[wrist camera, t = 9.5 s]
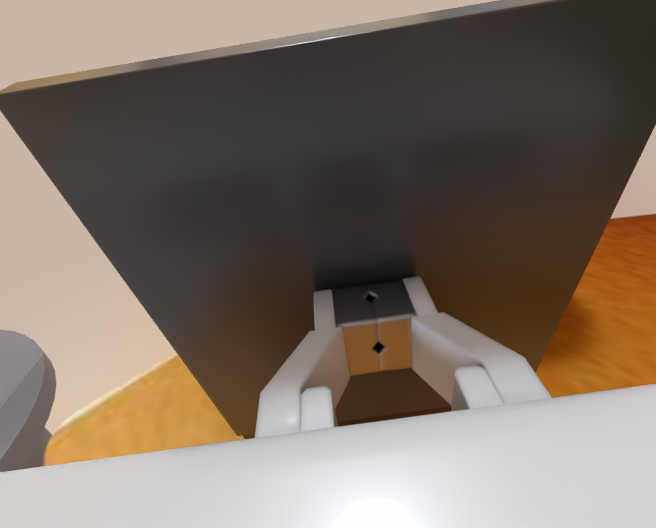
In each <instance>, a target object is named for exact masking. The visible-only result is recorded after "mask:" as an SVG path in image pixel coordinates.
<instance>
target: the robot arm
mask: <svg viewBox="0 0 656 528" xmlns="http://www.w3.org/2000/svg"><path fill="white" fill-rule="evenodd" d="M313 295H314V322H315V330H314V331H309V333H308V334H307V335H306V336H305V338H304V339H303V340H302V341H301V343H300V344H299V345H298V346H297V348H296V349H295V350H294V352H293V353H292V354H291V355H290V357H289V358H288V359H287V360H286V362H285V363H284V364H283V365H282V367H281V368H280V369H279V370H278V372H277V373H276V374H275V375H274V377H273V378H272V379H271V380H270V382H269V383H268V384H267V385H266V387H265V388H264V389H263V390H262V392H261V393H260V399H259V407H258V415H257V423H256V431H255V438H251V439H244V440H236V441H229V442H221V443H214V444H207V445H199V446H192V447H185V448H177V449H170V450H162V451H155V452H148V453H140V454H133V455H125V456H118V457H111V458H103V459H96V460H88V461H81V462H74V463H66V464H59V465H51V466H44V467H37V468H29V469H22V470H15V471H7V472H0V528H656V384H651V385H643V386H636V387H628V388H621V389H614V390H606V391H599V392H592V393H584V394H577V395H569V396H562V397H555V398H552V397H551V396H550V394H549V393H548V391H547V390H546V388H545V387H544V385H543V384H542V382H541V381H540V380H539V378H538V377H537V375H536V374H535V372H534V371H533V369H532V368H531V366H530V365H529V363H528V362H527V360H526V359H525V357H523V356H521V355H520V354H518V353H516V352H514V351H512V350H511V349H509V348H507V347H505V346H503V345H502V344H500V343H498V342H496V341H495V340H493V339H491V338H489V337H487V336H486V335H484V334H482V333H480V332H479V331H477V330H475V329H473V328H471V327H470V326H468V325H466V324H464V323H462V322H461V321H459V320H457V319H455V318H454V317H452V316H450V315H448V314H446V313H445V312H440V313H438V311H437V309H436V307H435V305H434V303H433V300H432V298H431V296H430V294H429V292H428V290H427V288H426V286H425V284H424V282H423V280H422V278H421V277H420V276H415V277H409V278H403V279H401V280H395V281H388V282H381V283H375V284H368V285H367V284H366V285H358V286H350V287H342V288H334V289H327V290H320V291H314V294H313ZM405 368H412V370H414V371H415V372H416V373H417V374H418V375H419V376H420V377H421V378H422V379H423V380H424V381H425V382H427V383H428V384H429V385H430V386H431V387H432V388H433V389H434V390H435V391H436V392H437V393H438V394H440V395H441V396H442V397H443V398H444V399H445V400H446V401H447V402H448V403H449V404H450V405H451V406H452V409H451V412H443V413H436V414H428V415H421V416H414V417H406V418H399V419H391V420H384V421H377V422H369V423H362V424H355V425H347V426H340V427H338V422H337V417H336V412H335V408H336V406H337V404H338V402H339V400H340V398H341V396H342V394H343V392H344V390H345V388H346V386H347V384H348V382H349V380H350V376H355V375H361V374H367V373H373V372H379V371H380V370H381V371H387V370H396V369H405Z"/></svg>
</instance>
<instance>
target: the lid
mask: <svg viewBox="0 0 656 528" xmlns="http://www.w3.org/2000/svg"><path fill="white" fill-rule="evenodd" d="M0 111H1V112H2V113H3V115H4V116H5V118H6V119H7V120H8V122H9V123H10V124H11V126H12V127H13V129H14V130H15V131H16V133H17V134H18V135H19V137H20V138H21V140H22V141H23V142H24V144H25V145H26V146H27V148H28V149H29V151H30V152H31V153H32V155H33V156H34V157H35V159H36V160H37V161H38V163H39V164H40V166H41V167H42V168H43V170H44V171H45V173H46V174H47V175H48V177H49V178H50V179H51V181H52V182H53V183H54V185H55V186H56V188H57V189H58V190H59V192H60V193H61V195H62V196H63V197H64V199H65V200H66V201H67V203H68V204H69V205H70V207H71V208H72V210H73V211H74V212H75V214H76V215H77V216H78V218H79V219H80V221H81V222H82V223H83V225H84V226H85V227H86V229H87V230H88V232H89V233H90V234H91V236H92V237H93V238H94V240H95V241H96V243H97V244H98V245H99V247H100V248H101V249H102V251H103V252H104V254H105V255H106V256H107V258H108V259H109V260H110V262H111V263H112V265H113V266H114V267H115V268H116V270H117V271H118V273H119V274H120V275H121V277H122V278H123V280H124V281H125V282H126V284H127V285H128V286H129V288H130V289H131V291H132V292H133V293H134V295H135V296H136V297H137V298H138V300H139V302H140V303H141V304H142V305H143V307H144V308H145V310H146V311H147V313H148V314H149V315H150V317H151V318H152V319H153V321H154V322H155V323H156V325H157V326H158V328H159V329H160V330H161V332H162V333H163V334H164V336H165V337H166V339H167V340H168V341H169V343H170V344H171V346H172V347H173V348H174V350H175V351H176V352H177V354H178V355H179V357H180V358H181V359H182V361H183V362H184V363H185V365H186V366H187V367H188V369H189V370H190V372H191V373H192V374H193V376H194V377H195V378H196V380H197V381H198V383H199V384H200V385H201V387H202V388H203V389H204V391H205V392H206V394H207V395H208V396H209V398H210V399H211V400H212V402H213V403H214V405H215V406H216V407H217V409H218V410H219V411H220V413H221V414H222V416H223V417H224V418H225V420H226V421H227V422H228V424H229V425H230V427H231V428H232V429H233V431H234V432H235V433H236V435H237V436H240V435H248V434H255V431H256V423H257V415H258V407H259V399H260V393H261V392H262V390H263V389H264V388H265V387H266V385H267V384H268V383H269V382H270V380H271V379H272V378H273V377H274V375H275V374H276V373H277V372H278V370H279V369H280V368H281V367H282V365H283V364H284V363H285V362H286V360H287V359H288V358H289V357H290V355H291V354H292V353H293V352H294V350H295V349H296V348H297V346H298V345H299V344H300V343H301V341H302V340H303V339H304V338H305V336H306V335H307V334H308V333H309V331H314V330H315V322H314V295H313V294H314V291H320V290H327V289H334V288H342V287H350V286H358V285H366V284H367V285H368V284H375V283H381V282H388V281H395V280H401V279H403V278H409V277H415V276H420V277H421V278H422V280H423V282H424V284H425V286H426V288H427V290H428V292H429V294H430V296H431V298H432V300H433V303H434V305H435V307H436V309H437V311H438V313H440V312H445V313H446V314H448V315H450V316H452V317H454V318H455V319H457V320H459V321H461V322H462V323H464V324H466V325H468V326H470V327H471V328H473V329H475V330H477V331H479V332H480V333H482V334H484V335H486V336H487V337H489V338H491V339H493V340H495V341H496V342H498V343H500V344H502V345H503V346H505V347H507V348H509V349H511V350H512V351H514V352H516V353H518V354H520V355H521V356H523V357H525V359H526V360H527V362H528V363H529V365H530V366H531V368H532V369H533V371H534V372H536V370H537V368H538V366H539V364H540V362H541V360H542V358H543V356H544V354H545V352H546V350H547V348H548V346H549V343H550V341H551V339H552V337H553V335H554V333H555V331H556V329H557V327H558V325H559V323H560V321H561V319H562V317H563V315H564V312H565V310H566V308H567V306H568V304H569V302H570V300H571V298H572V296H573V294H574V292H575V290H576V288H577V286H578V284H579V282H580V279H581V277H582V275H583V273H584V271H585V269H586V267H587V265H588V263H589V261H590V259H591V257H592V255H593V253H594V251H595V249H596V246H597V244H598V242H599V240H600V238H601V236H602V234H603V232H604V230H605V228H606V226H607V224H608V222H609V220H610V218H611V215H612V213H613V211H614V209H615V207H616V205H617V203H618V201H619V199H620V197H621V195H622V193H623V191H624V189H625V187H626V184H627V183H628V180H629V178H630V176H631V174H632V172H633V170H634V168H635V166H636V164H637V162H638V160H639V158H640V156H641V154H642V151H643V149H644V147H645V145H646V143H647V141H648V139H649V137H650V135H651V133H652V131H653V129H654V127H655V125H656V0H499V1H493V2H488V3H481V4H476V5H470V6H464V7H458V8H452V9H446V10H440V11H435V12H429V13H423V14H417V15H411V16H405V17H399V18H394V19H387V20H381V21H376V22H370V23H364V24H358V25H352V26H346V27H340V28H335V29H329V30H323V31H317V32H311V33H305V34H300V35H294V36H287V37H282V38H277V39H270V40H264V41H259V42H252V43H246V44H240V45H235V46H229V47H223V48H217V49H211V50H205V51H200V52H193V53H188V54H182V55H176V56H170V57H164V58H158V59H152V60H147V61H141V62H135V63H129V64H123V65H117V66H111V67H105V68H100V69H93V70H88V71H82V72H76V73H70V74H64V75H58V76H53V77H46V78H41V79H35V80H29V81H23V82H17V83H14V84H12V85H10V86H8V87H7V88H5V89H3V90H1V91H0ZM449 406H451V405H450V404H449V403H448V402H447V401H446V400H445V399H444V398H443V397H442V396H441V395H440V394H438V393H437V392H436V391H435V390H434V389H433V388H432V387H431V386H430V385H429V384H428V383H427V382H425V381H424V380H423V379H422V378H421V377H420V376H419V375H418V374H417V373H416V372H415V371H414V370H412V368H405V369H396V370H387V371H381V370H380V371H379V372H373V373H367V374H361V375H355V376H350V380H349V382H348V384H347V386H346V388H345V390H344V392H343V394H342V396H341V398H340V400H339V402H338V404H337V406H336V408H335V412H336V417H337V422H341V421H348V420H355V419H363V418H370V417H377V416H384V415H391V414H398V413H406V412H413V411H420V410H427V409H434V408H442V407H449Z"/></svg>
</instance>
